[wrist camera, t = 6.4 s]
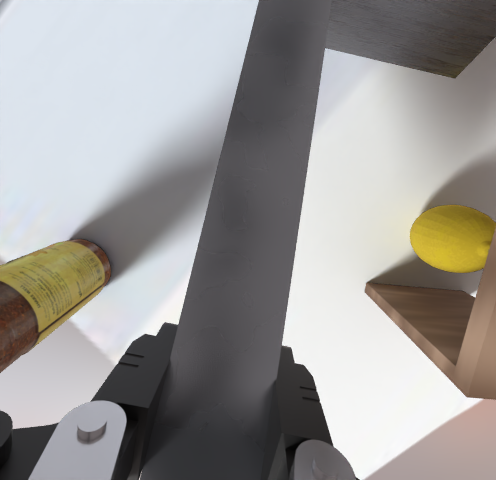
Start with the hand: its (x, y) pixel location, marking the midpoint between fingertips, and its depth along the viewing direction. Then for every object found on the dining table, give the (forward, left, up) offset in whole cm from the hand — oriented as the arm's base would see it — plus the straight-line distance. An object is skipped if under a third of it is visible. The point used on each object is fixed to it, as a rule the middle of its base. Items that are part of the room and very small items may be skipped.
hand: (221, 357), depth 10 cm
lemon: (-3, +18, -19) cm, 26 cm away
